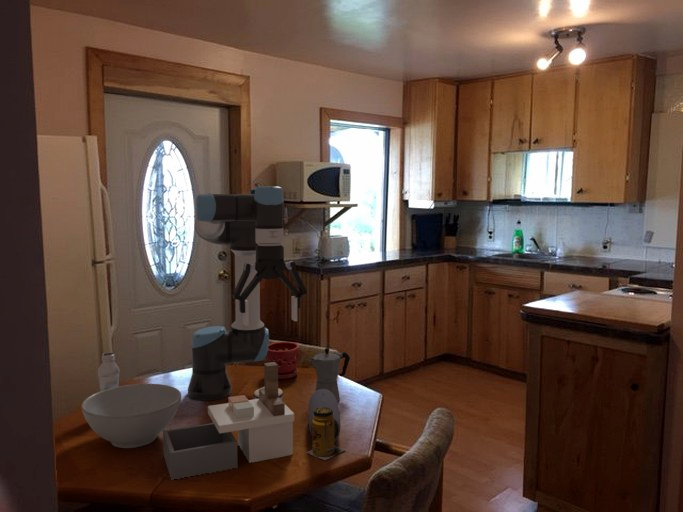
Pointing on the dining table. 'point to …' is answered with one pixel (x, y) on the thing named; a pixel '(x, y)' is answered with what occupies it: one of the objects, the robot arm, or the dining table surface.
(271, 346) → the plant pot
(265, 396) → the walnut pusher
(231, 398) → the terracotta tile
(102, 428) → the decorative bowl
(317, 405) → the bluetooth speaker
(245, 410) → the sage tile
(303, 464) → the dining table surface
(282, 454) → the board
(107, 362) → the plastic bottle
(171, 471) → the box
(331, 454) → the condiment
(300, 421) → the dining table surface
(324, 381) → the coffeepot
